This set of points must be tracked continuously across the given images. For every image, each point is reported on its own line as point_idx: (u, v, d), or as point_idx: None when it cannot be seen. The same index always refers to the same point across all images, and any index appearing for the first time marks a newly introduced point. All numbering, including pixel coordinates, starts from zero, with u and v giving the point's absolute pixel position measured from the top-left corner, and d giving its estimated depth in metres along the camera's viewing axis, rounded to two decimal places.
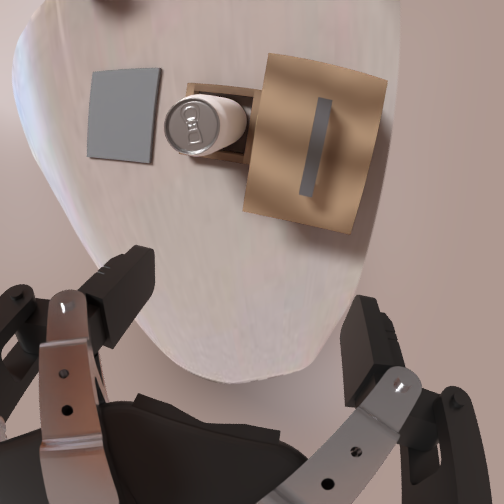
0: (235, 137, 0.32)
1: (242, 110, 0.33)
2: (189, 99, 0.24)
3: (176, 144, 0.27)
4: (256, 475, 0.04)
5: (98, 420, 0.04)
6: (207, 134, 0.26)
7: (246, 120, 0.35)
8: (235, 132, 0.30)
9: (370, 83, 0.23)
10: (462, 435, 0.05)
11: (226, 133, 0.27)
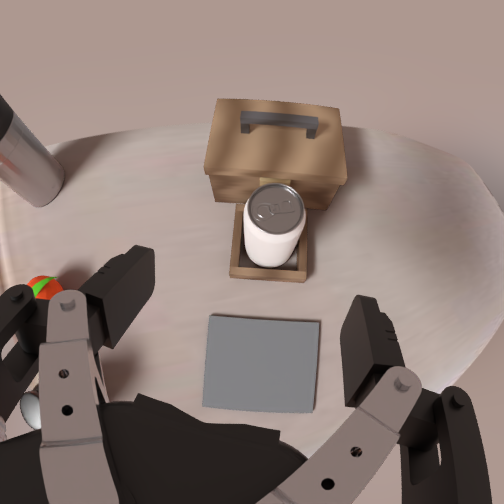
0: None
1: None
2: (249, 211, 0.29)
3: (295, 223, 0.28)
4: (256, 475, 0.04)
5: (98, 420, 0.04)
6: (282, 194, 0.29)
7: None
8: None
9: (222, 106, 0.36)
10: (462, 435, 0.05)
11: None
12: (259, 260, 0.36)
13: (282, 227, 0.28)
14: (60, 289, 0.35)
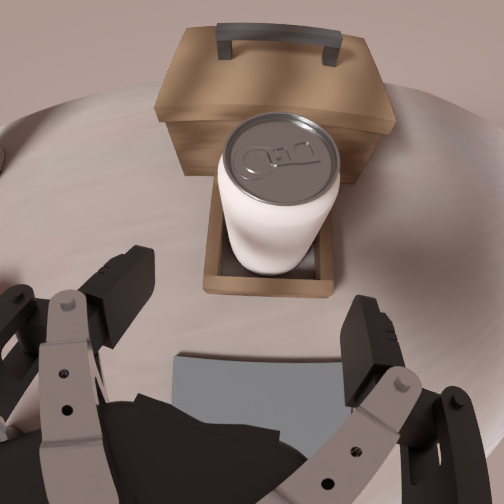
0: None
1: None
2: (226, 161, 0.13)
3: (324, 184, 0.13)
4: (256, 475, 0.04)
5: (98, 420, 0.04)
6: (293, 132, 0.14)
7: None
8: None
9: (192, 35, 0.20)
10: (462, 435, 0.05)
11: None
12: (253, 263, 0.21)
13: (297, 191, 0.13)
14: None
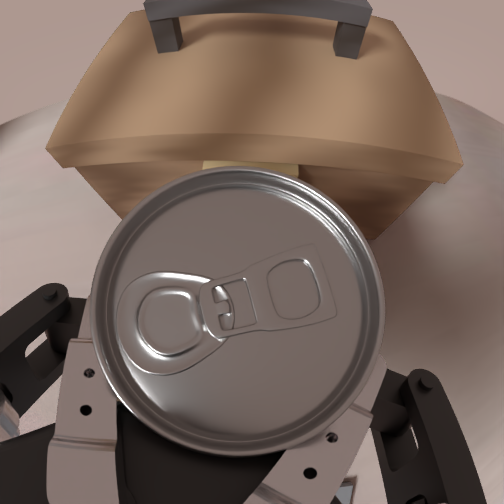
0: None
1: None
2: (99, 321, 0.05)
3: (336, 384, 0.05)
4: (256, 475, 0.04)
5: (116, 425, 0.04)
6: (271, 225, 0.06)
7: None
8: None
9: (133, 20, 0.12)
10: (436, 418, 0.05)
11: None
12: None
13: (267, 411, 0.05)
14: None
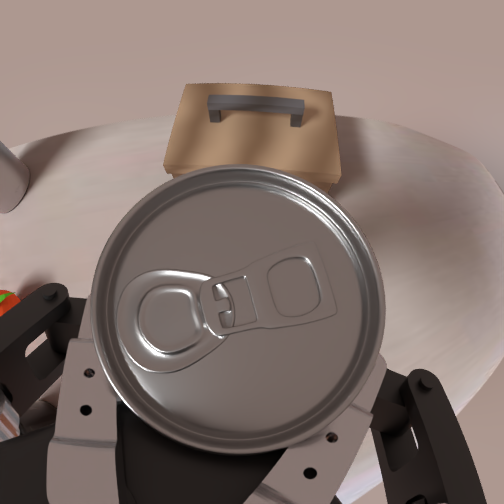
0: None
1: None
2: (100, 319, 0.05)
3: (337, 382, 0.05)
4: (256, 475, 0.04)
5: (115, 425, 0.04)
6: (271, 223, 0.06)
7: None
8: None
9: (190, 92, 0.29)
10: (436, 418, 0.05)
11: None
12: None
13: (268, 409, 0.05)
14: None
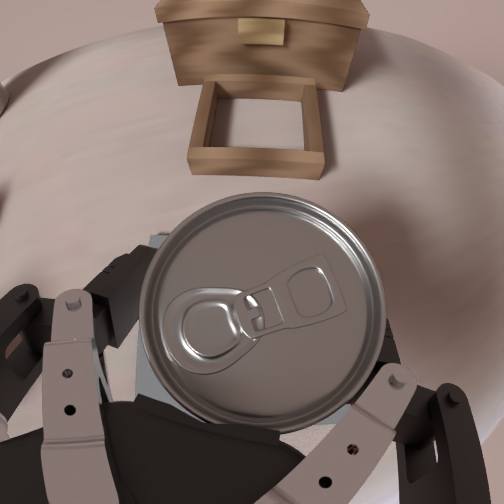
0: None
1: None
2: (149, 335, 0.06)
3: (351, 366, 0.06)
4: (256, 475, 0.04)
5: (101, 420, 0.04)
6: (286, 241, 0.07)
7: None
8: None
9: None
10: (458, 432, 0.05)
11: None
12: None
13: (298, 394, 0.06)
14: None
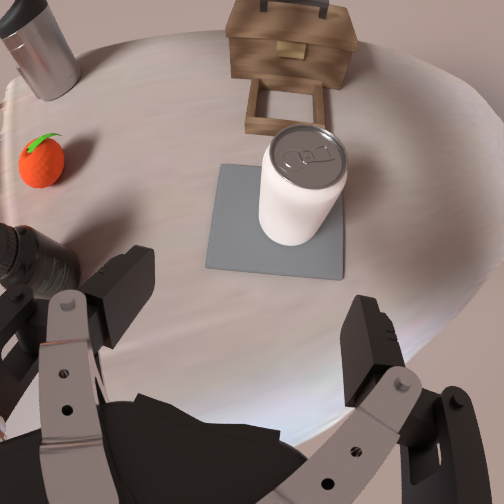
0: None
1: None
2: (272, 159, 0.19)
3: (337, 175, 0.19)
4: (256, 475, 0.04)
5: (98, 420, 0.04)
6: (315, 139, 0.20)
7: None
8: None
9: None
10: (462, 435, 0.05)
11: None
12: (281, 235, 0.27)
13: (321, 180, 0.19)
14: (61, 150, 0.31)
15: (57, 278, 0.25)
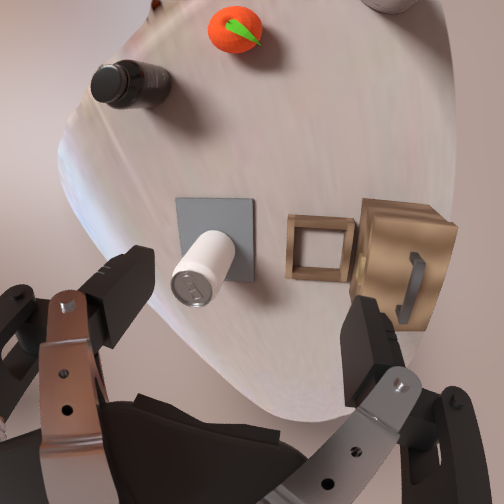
0: (227, 271, 0.43)
1: (228, 240, 0.44)
2: None
3: (185, 300, 0.38)
4: (256, 475, 0.04)
5: (98, 420, 0.04)
6: (204, 292, 0.37)
7: (233, 245, 0.45)
8: (226, 271, 0.41)
9: (446, 232, 0.30)
10: (462, 435, 0.05)
11: (218, 286, 0.37)
12: None
13: (179, 292, 0.37)
14: (250, 48, 0.30)
15: None
